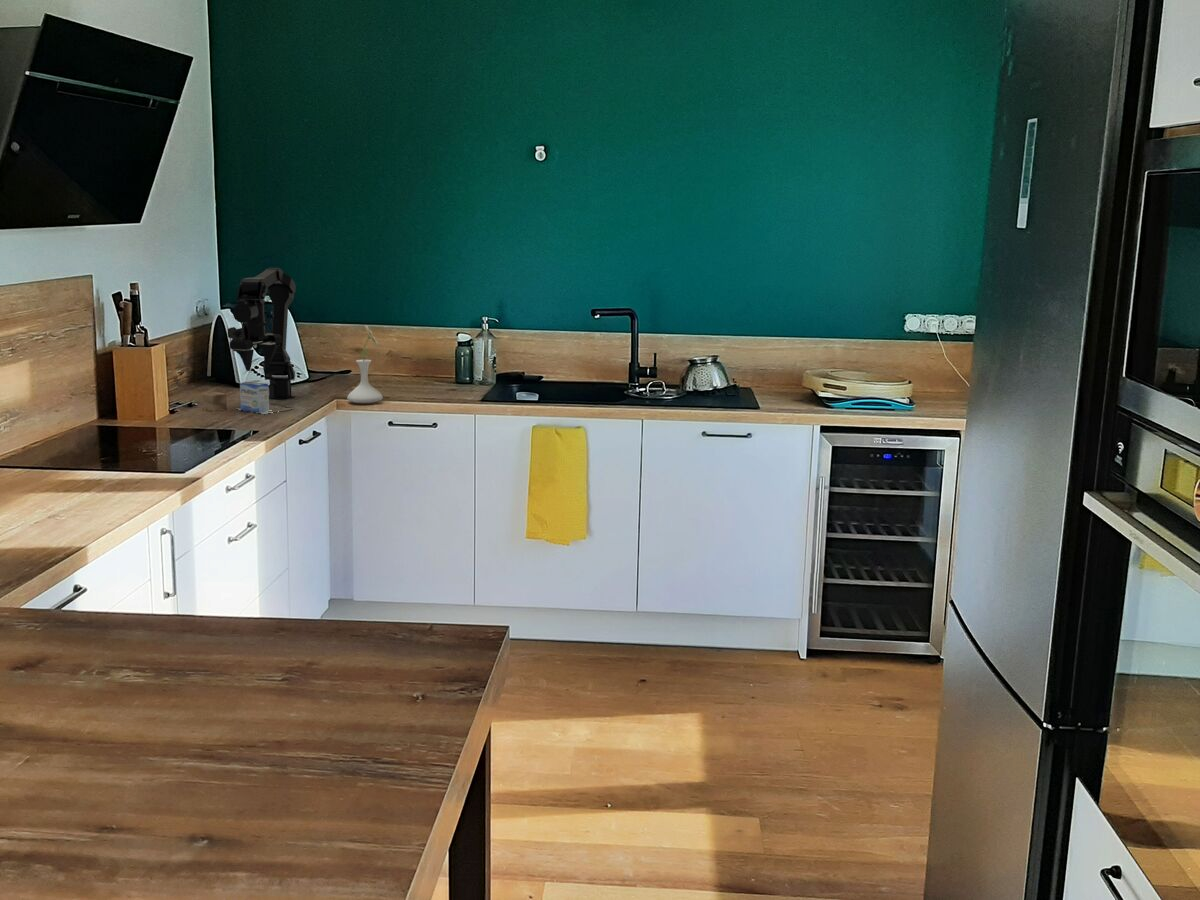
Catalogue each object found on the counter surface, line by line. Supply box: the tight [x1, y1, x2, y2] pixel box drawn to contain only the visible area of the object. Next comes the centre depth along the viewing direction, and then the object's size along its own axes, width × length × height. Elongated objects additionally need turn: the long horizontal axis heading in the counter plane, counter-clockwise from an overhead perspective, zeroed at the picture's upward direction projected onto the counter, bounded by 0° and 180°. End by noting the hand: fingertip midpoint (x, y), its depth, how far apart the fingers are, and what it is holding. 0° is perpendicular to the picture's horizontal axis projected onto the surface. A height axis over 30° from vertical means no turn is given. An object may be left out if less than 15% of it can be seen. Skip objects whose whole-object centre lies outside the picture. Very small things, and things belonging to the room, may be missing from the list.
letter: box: [237, 407, 280, 415], centre depth 366 cm, size 12×14×1 cm
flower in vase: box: [346, 324, 383, 404], centre depth 378 cm, size 13×11×25 cm
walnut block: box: [202, 391, 228, 412], centre depth 365 cm, size 5×5×5 cm
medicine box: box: [239, 381, 270, 413], centre depth 362 cm, size 8×4×9 cm, turn 62°
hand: (257, 368), depth 366 cm, fingers open, 9 cm apart
